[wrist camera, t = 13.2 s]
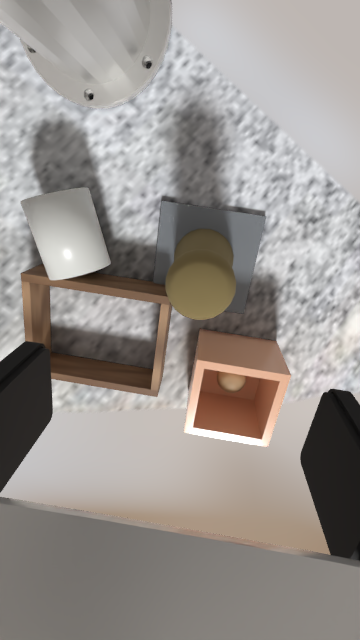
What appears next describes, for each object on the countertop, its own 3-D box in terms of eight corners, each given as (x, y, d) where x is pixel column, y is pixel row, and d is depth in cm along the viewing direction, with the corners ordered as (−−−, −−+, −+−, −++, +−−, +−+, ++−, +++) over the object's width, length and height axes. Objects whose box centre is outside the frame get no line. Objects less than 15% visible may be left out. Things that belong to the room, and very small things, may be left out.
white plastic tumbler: (41, 201, 31) (5, 203, 26) (97, 187, 30) (72, 187, 25) (65, 269, 34) (37, 284, 28) (118, 258, 33) (99, 272, 27)
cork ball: (219, 356, 36) (220, 371, 33) (247, 360, 35) (250, 376, 32) (214, 379, 37) (214, 396, 34) (241, 384, 37) (243, 401, 34)
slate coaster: (162, 200, 30) (161, 200, 30) (265, 216, 30) (266, 216, 30) (151, 297, 34) (151, 299, 34) (243, 312, 34) (243, 313, 34)
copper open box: (199, 328, 35) (196, 359, 29) (276, 341, 35) (291, 375, 28) (188, 391, 38) (183, 432, 32) (258, 403, 38) (267, 447, 32)
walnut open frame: (41, 264, 34) (20, 273, 30) (174, 285, 33) (170, 297, 30) (45, 356, 38) (27, 374, 35) (162, 376, 38) (157, 396, 34)
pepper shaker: (242, 274, 32) (257, 313, 22) (188, 296, 33) (179, 343, 23) (219, 217, 30) (223, 231, 20) (163, 244, 32) (140, 270, 21)
